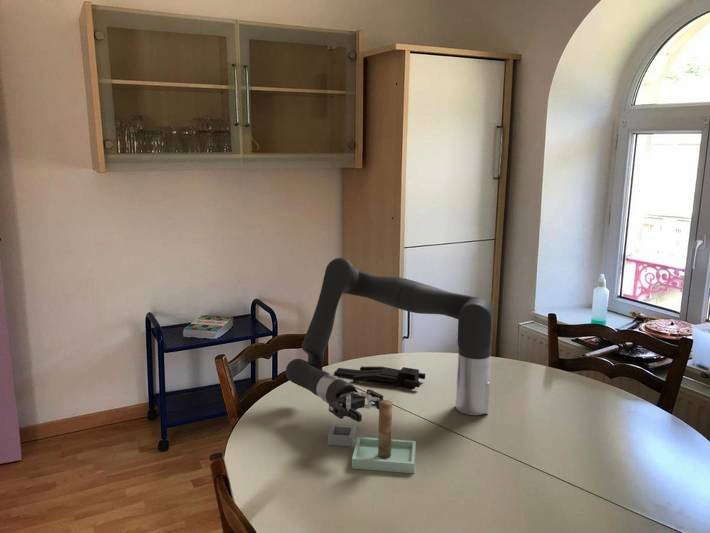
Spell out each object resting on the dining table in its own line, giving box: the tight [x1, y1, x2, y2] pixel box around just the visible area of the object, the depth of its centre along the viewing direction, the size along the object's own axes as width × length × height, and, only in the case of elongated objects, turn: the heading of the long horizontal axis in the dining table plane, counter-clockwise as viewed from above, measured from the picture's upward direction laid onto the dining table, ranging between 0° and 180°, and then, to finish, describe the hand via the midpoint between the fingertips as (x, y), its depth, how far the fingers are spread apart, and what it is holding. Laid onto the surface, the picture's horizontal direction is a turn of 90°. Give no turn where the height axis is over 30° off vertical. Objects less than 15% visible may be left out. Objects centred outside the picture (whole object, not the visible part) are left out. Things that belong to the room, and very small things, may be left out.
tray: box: [351, 436, 417, 474], centre depth 148 cm, size 15×11×2 cm
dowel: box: [378, 399, 393, 459], centre depth 146 cm, size 3×3×14 cm
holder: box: [327, 424, 357, 447], centre depth 157 cm, size 6×6×2 cm
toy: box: [333, 366, 426, 390], centre depth 196 cm, size 9×6×30 cm
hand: (374, 413), depth 149 cm, fingers open, 8 cm apart
